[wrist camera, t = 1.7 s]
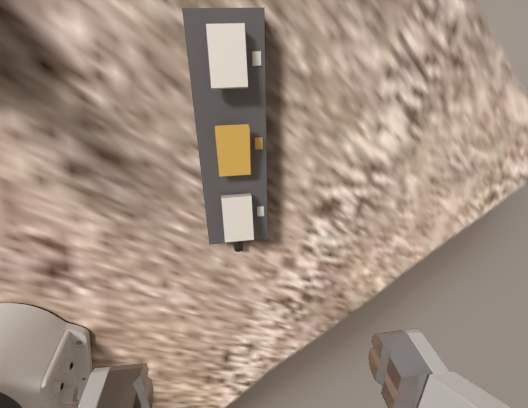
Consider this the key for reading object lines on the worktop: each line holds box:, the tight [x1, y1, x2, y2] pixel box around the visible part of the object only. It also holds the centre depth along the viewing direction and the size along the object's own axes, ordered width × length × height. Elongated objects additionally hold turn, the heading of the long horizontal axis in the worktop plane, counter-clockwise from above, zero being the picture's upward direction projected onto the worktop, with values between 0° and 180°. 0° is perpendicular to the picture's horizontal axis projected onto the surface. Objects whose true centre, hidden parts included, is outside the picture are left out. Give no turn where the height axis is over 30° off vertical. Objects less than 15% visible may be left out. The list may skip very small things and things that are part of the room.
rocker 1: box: [206, 23, 248, 89], centre depth 28 cm, size 5×3×1 cm, turn 1°
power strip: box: [182, 8, 268, 252], centre depth 35 cm, size 27×7×5 cm, turn 1°
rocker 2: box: [215, 124, 251, 177], centre depth 31 cm, size 5×3×1 cm, turn 1°
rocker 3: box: [221, 193, 254, 242], centre depth 35 cm, size 5×3×1 cm, turn 1°
